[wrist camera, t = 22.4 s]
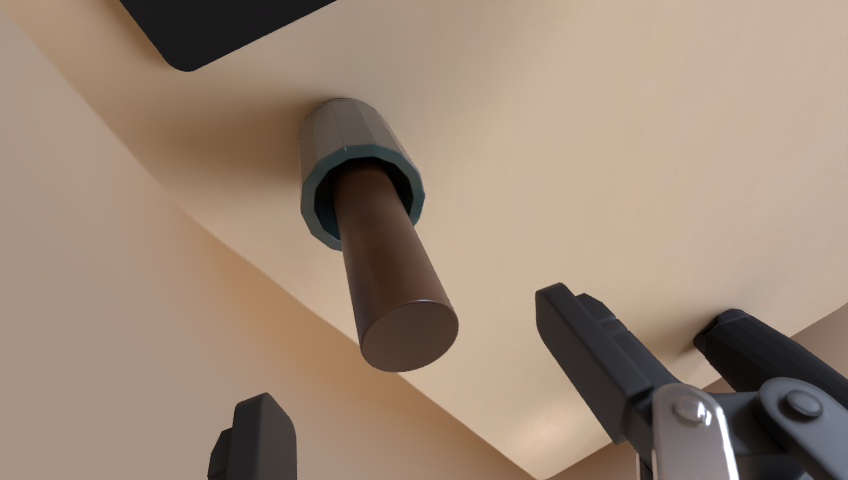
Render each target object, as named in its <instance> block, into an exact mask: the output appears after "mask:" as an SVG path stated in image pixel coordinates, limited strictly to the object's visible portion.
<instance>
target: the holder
mask: <svg viewBox="0 0 848 480" xmlns="http://www.w3.org/2000/svg"><path fill="white" fill-rule="evenodd" d="M372 156H373V157H376V158H379V159H381V161H382V163H383V165H384V167H385V169H386V171H387V173H388V175H389V177H390V179H391V181H392V183H393V186H394V188H395V190H396V192H397V194H398V196H399V198H400V200H401V202H402V204H403V206H404V208H405V210H406V212H407V214H408V216H409V219H410V221H411V223H412V225H413V227H414V225H415V224H416V223H417V222H418V220H419V218H420V215H421V211H422V207H423V203H424V199H425V192H424V188H423V184H422V180H421V176H420V173H419V171H418V169H417V168H416V166H415V165H414V163H413V162H412V160H411V158H410V157H409V155H408V154H407V152H406V151H405V149H404V148H403V146H402V145H401V143H400V142H399V140H398V138H397V137H396V135H395V134H394V132H393V131H392V129H391V128H390V126H389V125H388V123H387V122H386V121H385V120H384V119H383V117H382V116H381V115H380V114H379V113H378V111H376V110H375V109H374V108H373V107H371V106H370V105H368V104H366V103H364V102H362V101H359V100H356V99H350V98H339V99H333V100H329V101H327V102H324V103H322V104H321V105H319V106H317V107H316V108H315V109H313V110H312V111H311V112H310V113H309V115H308V116H307V117H306V119H305V120H304V122H303V124H302V127H301V129H300V133H299V148H298V159H299V186H300V210H301V214H302V216H303V218H304V220H305V222H306V224H307V226H308V228H309V230H310V232H311V234H312V235H313V236H314V237H316V238H317V239H319V240H320V241H321V242H323V243H324V244H325V245H327V246H328V247H329V248H331V249H334V250H338V251H342V246H341V241H340V235H339V230H338V224H337V219H336V214H335V208H334V203H333V197H332V192H331V186H330V181H329V176H328V171H329V170H330V169H332V168H334V167H335V166H337V165H339V164H341V163H342V162H344V161H346V160H348V159H351V158H362V157H372Z"/></svg>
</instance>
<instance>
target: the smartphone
mask: <svg viewBox="0 0 848 480" xmlns="http://www.w3.org/2000/svg"><path fill="white" fill-rule="evenodd" d="M334 1H336V0H120V2H121V3H122V4H123V6H124V7H125V8H126V10H127V11H128V12H129V14H130V15H131V16H132V17H133V19H134V20H135V21H136V23H137V24H138V25H139V27H140V28H141V29H142V30H143V32H144V33H145V34H146V36H147V37H148V38H149V40H150V41H151V42H152V43H153V45H154V46H155V47H156V49H157V50H158V51H159V53H160V54H161V55H162V56H163V58H164V59H165V60H166V61H167V63H168V64H170V65H171V66H172V67H174V68H175V69H178V70H180V71H184V72H191V71H194V70H197V69H199V68H201V67H203V66H205V65H207V64H209V63H211V62H213V61H215V60H217V59H219V58H221V57H223V56H225V55H227V54H229V53H231V52H233V51H235V50H237V49H239V48H241V47H243V46H245V45H247V44H249V43H251V42H253V41H255V40H257V39H259V38H261V37H263V36H265V35H267V34H269V33H272V32H274V31H276V30H278V29H280V28H282V27H284V26H286V25H288V24H290V23H292V22H294V21H296V20H298V19H300V18H302V17H304V16H306V15H308V14H310V13H312V12H314V11H316V10H318V9H320V8H322V7H324V6H326V5H328V4H330V3H332V2H334Z"/></svg>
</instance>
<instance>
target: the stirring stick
mask: <svg viewBox="0 0 848 480" xmlns="http://www.w3.org/2000/svg"><path fill="white" fill-rule="evenodd" d="M328 176H329V181H330V186H331V192H332V197H333V203H334V208H335V214H336V219H337V224H338V230H339V235H340V241H341V246H342V252H343V257H344V263H345V268H346V273H347V279H348V284H349V290H350V295H351V301H352V306H353V311H354V317H355V322H356V328H357V333H358V339H359V344H360V349H361V353H362V356H363V357H364V358H365V360H366V361H367V362H368V363H369V364H370V365H371V366H373V367H375V368H377V369H379V370H382V371H387V372H406V371H411V370H415V369H418V368H421V367H424V366H426V365H428V364H430V363H432V362H434V361H435V360H437V359H438V358H440V357H441V356H442V355H443V354H444V353H446V352H447V351H448V349H449V348H450V347H451V346H452V344H453V343H454V341H455V339H456V337H457V334H458V327H459V323H458V318H457V315H456V313H455V311H454V309H453V307H452V305H451V303H450V301H449V299H448V297H447V295H446V293H445V291H444V289H443V287H442V285H441V282H440V280H439V278H438V276H437V274H436V272H435V270H434V268H433V266H432V264H431V262H430V260H429V258H428V256H427V254H426V252H425V249H424V247H423V245H422V243H421V241H420V239H419V237H418V235H417V233H416V231H415V229H414V227H413V225H412V223H411V221H410V219H409V216H408V214H407V212H406V210H405V208H404V206H403V204H402V202H401V200H400V198H399V196H398V194H397V192H396V190H395V188H394V186H393V183H392V181H391V179H390V177H389V175H388V173H387V171H386V169H385V167H384V165H383V163H382V161H381V159H379V158H376V157H373V156H372V157H362V158H351V159H348V160H346V161H344V162H342V163H341V164H339V165H337V166H335V167H334V168H332V169H330V170H329V171H328Z"/></svg>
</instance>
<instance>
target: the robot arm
mask: <svg viewBox="0 0 848 480" xmlns="http://www.w3.org/2000/svg"><path fill="white" fill-rule="evenodd" d="M535 302H536V325H537V329H538V332H539V334H540V336H541V338H542V340H543V342H544V344H545V345H546V346H547V348H548V349H549V351H550V352H551V354H552V355H553V356H554V358H555V359H556V361H557V362H558V364H559V365H560V366H561V368H562V369H563V371H564V372H565V374H566V375H567V376H568V378H569V379H570V381H571V382H572V384H573V385H574V386H575V388H576V389H577V391H578V392H579V394H580V395H581V396H582V398H583V399H584V401H585V402H586V404H587V405H588V406H589V408H590V409H591V411H592V412H593V414H594V415H595V416H596V418H597V419H598V421H599V422H600V424H601V425H602V426H603V428H604V429H605V431H606V432H607V434H608V435H609V436H610V438H611V439H612V441H613V442H614V444H615V445H617V444H619V443H622V442H624V441H626V440H628V441H629V442H630V443H631V445H632V446H633V447H634V449H635V450H636V466H637V480H848V410H847V409H845V408H844V407H843V406H842V405H841V404H839V403H838V402H837V401H836V400H835V399H833V398H832V397H831V396H830V395H828V394H827V393H826V392H824V391H823V390H821V389H819V388H818V387H816V386H814V385H812V384H810V383H807V382H805V381H802V380H798V379H794V378H788V377H777V378H772V379H769V380H767V381H766V382H765V383H763V385H762V386H761V388H760V389H759V391H755V392H736V393H709V392H704V391H703V390H701V389H699V388H697V387H694V386H691V385H688V384H684V383H682V382H681V381H679V380H678V379H677V378H675V377H674V376H673V375H672V374H671V373H670V372H669V371H668V370H667V369H666V368H665V367H664V366H663V365H662V364H661V363H660V362H659V361H658V360H657V359H656V358H655V357H654V356H653V355H652V354H651V352H650V351H649V350H648V349H647V348H646V347H645V346H644V345H643V344H642V343H641V342H640V341H639V340H638V339H637V338H636V337H635V336H634V335H633V334H632V333H631V332H630V331H628V330H627V328H626V327H625V326H624V325H623V323H622V322H621V321H620V320H619V319H616V316H615V315H614V314H613V313H612V312H611V311H610V310H609V309H608V308H607V307H606V306H605V305H604V304H603V303H602V302H600V301H598V300H597V299H595V298H593V297H591V296H589V295H587V294H585V293H583V294H580V295H578V296H574V295H573V293H572V292H571V291H570V290H569V289H568V288H567V287H566V286H565V285H564V284H563V283H560V282H559V283H556V284H554V285H551V286H548V287H546V288H543V289H540V290H538V291H536V293H535ZM296 451H297V450H296V434H295V430H294V426H293V423H292V421H291V419H290V418H289V416H288V415H287V414H286V413H285V412H284V410H283V409H282V408H281V407H280V406H279V405H278V403H277V402H276V401H275V400H274V399H273V397H272V396H271V395H270V394H269V393H263V394H260V395H257V396H255V397H252V398H250V399H247V400H244V401H242V402H239V403H238V404H237V405H236V407H235V411H234V418H233V427H232V428H229V429H226V430H224V431H222V432H221V434H220V437H219V438H218V441H217V443H216V445H215V447H214V449H213V451H212V453H211V458H210V463H209V469H208V475H207V477H208V480H297V455H296V454H297V452H296Z"/></svg>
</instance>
